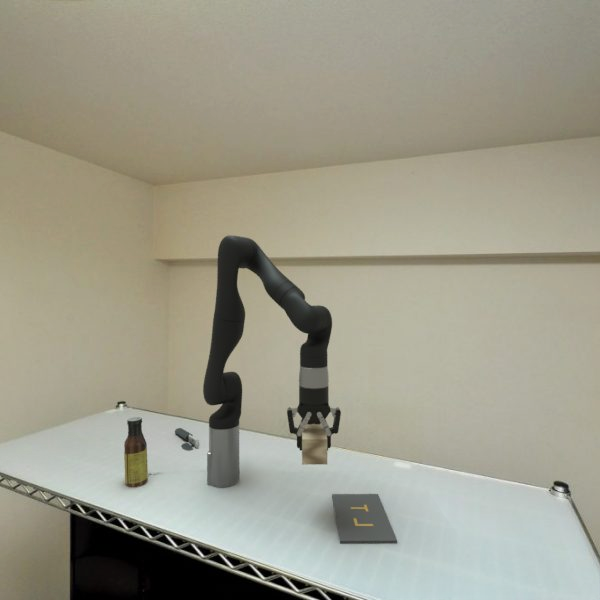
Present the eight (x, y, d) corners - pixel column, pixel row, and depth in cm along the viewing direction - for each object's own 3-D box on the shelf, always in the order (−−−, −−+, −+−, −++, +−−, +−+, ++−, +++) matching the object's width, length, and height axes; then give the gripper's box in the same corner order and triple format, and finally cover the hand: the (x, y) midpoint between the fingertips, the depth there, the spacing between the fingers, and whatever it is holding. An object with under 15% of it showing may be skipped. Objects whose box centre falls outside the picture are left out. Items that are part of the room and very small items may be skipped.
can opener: (202, 452, 133) (202, 439, 133) (185, 457, 129) (185, 443, 129) (184, 437, 148) (184, 425, 148) (168, 441, 144) (168, 428, 144)
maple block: (302, 464, 86) (302, 439, 86) (301, 444, 98) (301, 422, 98) (327, 464, 86) (327, 439, 86) (323, 444, 98) (323, 422, 98)
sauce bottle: (152, 482, 110) (152, 417, 111) (135, 492, 105) (135, 423, 105) (136, 478, 113) (136, 414, 113) (119, 487, 108) (119, 420, 108)
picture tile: (340, 543, 82) (340, 540, 82) (332, 496, 102) (332, 494, 102) (397, 543, 82) (397, 540, 82) (378, 496, 102) (378, 493, 102)
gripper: (285, 387, 89) (285, 455, 89) (343, 387, 89) (343, 455, 89) (286, 380, 96) (286, 443, 96) (340, 380, 96) (340, 443, 96)
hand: (313, 449), depth 92 cm, fingers closed on maple block, 6 cm apart
